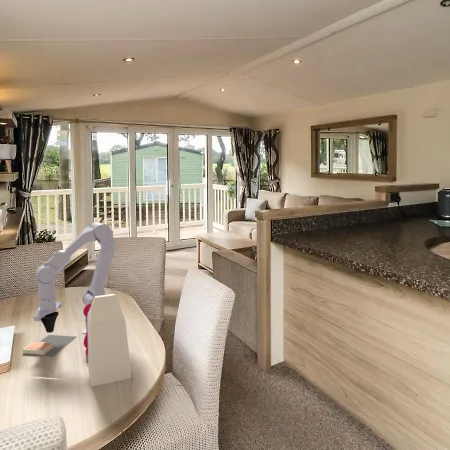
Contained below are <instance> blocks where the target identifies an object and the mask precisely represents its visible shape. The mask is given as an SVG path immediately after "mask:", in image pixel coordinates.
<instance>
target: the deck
mask: <svg viewBox="0 0 450 450" xmlns="http://www.w3.org/2000/svg"><path fill="white" fill-rule="evenodd" d="M53 347H54V344H53V343H46V342H40V341H33V342H31V343H29V344H28V345H26V346H25V347H24V348H23V349H22V354H23V353H24V354H38V355H44V354H46V353H47V352H48V351H49V350H51V349H52V348H53Z"/></svg>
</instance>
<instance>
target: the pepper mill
mask: <svg viewBox="0 0 450 450" xmlns="http://www.w3.org/2000/svg"><path fill="white" fill-rule="evenodd" d="M92 302H93V299H91V300H90V301H89V303H90V304H88V305H85V306H84V307H83V310H82V313H83V315H84V320H85V319H86V323H87V316H88V312H89V309H90V307H91V305H92ZM85 316H86V318H85ZM86 323H85V324H86ZM83 347H85V355H86V356H87V357H88V325H87V333H86V334H85V335H84V339H83Z"/></svg>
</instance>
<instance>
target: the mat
mask: <svg viewBox="0 0 450 450" xmlns="http://www.w3.org/2000/svg"><path fill="white" fill-rule="evenodd" d="M76 338H77V336H75V335H73V336H72V335H58V334H57V335H56V334H48V335H46V336H45V337H43V339H41V340H39V342H46V343H53V344H54V347H53V348H52V349H51V350H49V351H48V352H47V353H46V354H44V355H38V354H24V353H23V352H22V355H26V356H39V357H55V356H56V355H57V354H58V353H60V352H61V351H62V350H63V349H64V348H66V347H67V346H68V345H69V344H71V343H72V342H73V341H74V340H75V339H76Z"/></svg>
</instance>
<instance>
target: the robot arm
mask: <svg viewBox="0 0 450 450" xmlns="http://www.w3.org/2000/svg"><path fill="white" fill-rule="evenodd" d="M96 241H97V243H98V244H99V246H100V251H99V254H98V257H97V261H96V264H95V267H94V271H93V276H92V279H91V282H90V284H89V286H88V287H87V289H86V291H85V293H84V294H83V296H82V303H83V304H84V305H85V306H86V305H88V304H90V303H89V301H90V300H91V299H93V300H94V298H95V296H102V295H106V291H105V286H106V282H107V279H108V275H109V272H110V271H109V270H110V266H111V264H112V263H111V262H112V260H113V256H114V253H115V249H116V241H115V237H114V231H113V230H112V228H111V227H110V225H108V224H106V223H102V222H100V221H93V222H91V223H90V224H89V225H88V226H86V227H84V228H83V230H82V232H80V233H79V234H78V236H76V237H75V238H74V239H73V240H72V241H71V242H70V244H69V245H68V246H67V247H66V248H64V249H62V250H61V249H60V250H58V251H54V252H53V254H52V256H51V257H50V258H49V259H48V260H47V261H44V262H43V263H42V265H40V266H38V267H37V268H36V270H35V273H34V275H35V277H36V279H37V294H38V308H37V309H36V310H37V312H36V314H35V315H33V321H34V322H41V323H42V325H43V328H44V329H45V331H46V333H48V334H49V333H50V334H51V333H54V330H55V325H56V320H57V318H58V316H59V311H58V309H59V308H62V307H63V306H62V305H63V303H62V302H60V301H57V299H56V286H55V279H56V276H57V274H59V272H61V271H62V269H63V268H64V267H66V266H67V265H68V264H69V263H70V262H71V257H72V256H74V254H75V253H76V252H77V251H79V250H80V249H81V248H82V247H84V246H85V244H87V243H89V242H91V243H92V242H96ZM85 318H86V316H85V315H84V320H85V329H84V330H83V331H82V332H81V334H83V335H84V334H85V335H86V333H87V323H86V319H85Z"/></svg>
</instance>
